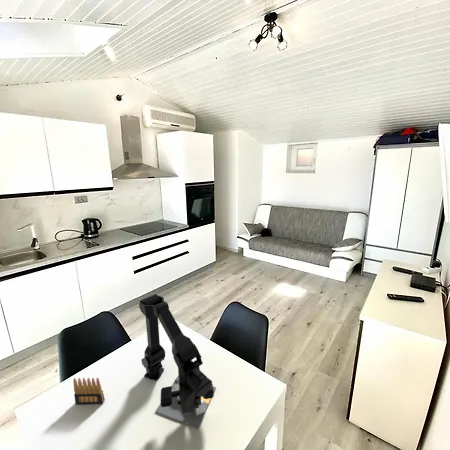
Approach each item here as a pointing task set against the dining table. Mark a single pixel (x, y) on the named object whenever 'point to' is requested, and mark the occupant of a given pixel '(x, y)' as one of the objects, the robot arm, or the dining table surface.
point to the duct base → (176, 413)
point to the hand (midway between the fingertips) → (188, 410)
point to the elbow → (201, 407)
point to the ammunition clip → (88, 392)
